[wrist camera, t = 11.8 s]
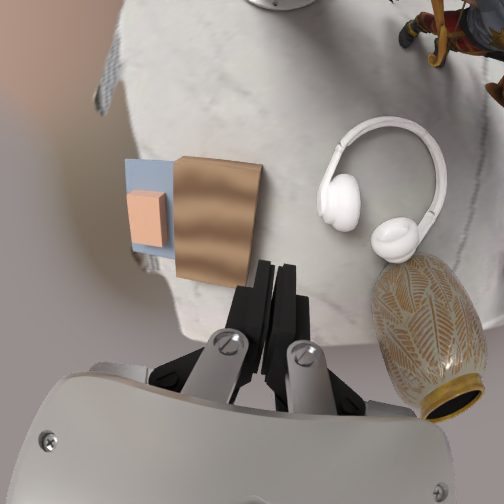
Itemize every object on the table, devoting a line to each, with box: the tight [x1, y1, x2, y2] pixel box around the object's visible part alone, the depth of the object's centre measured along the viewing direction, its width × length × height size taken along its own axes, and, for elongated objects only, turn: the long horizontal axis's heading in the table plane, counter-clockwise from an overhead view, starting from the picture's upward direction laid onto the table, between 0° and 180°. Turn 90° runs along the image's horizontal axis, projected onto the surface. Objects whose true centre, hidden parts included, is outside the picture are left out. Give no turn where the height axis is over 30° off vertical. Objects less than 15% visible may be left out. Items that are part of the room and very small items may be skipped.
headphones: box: [317, 116, 447, 263], centre depth 34 cm, size 20×8×20 cm
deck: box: [173, 156, 262, 288], centre depth 42 cm, size 20×12×4 cm, turn 174°
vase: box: [371, 253, 488, 424], centre depth 34 cm, size 17×17×27 cm
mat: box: [125, 159, 175, 259], centre depth 44 cm, size 18×10×1 cm, turn 174°
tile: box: [127, 190, 168, 247], centre depth 43 cm, size 9×6×2 cm, turn 175°
